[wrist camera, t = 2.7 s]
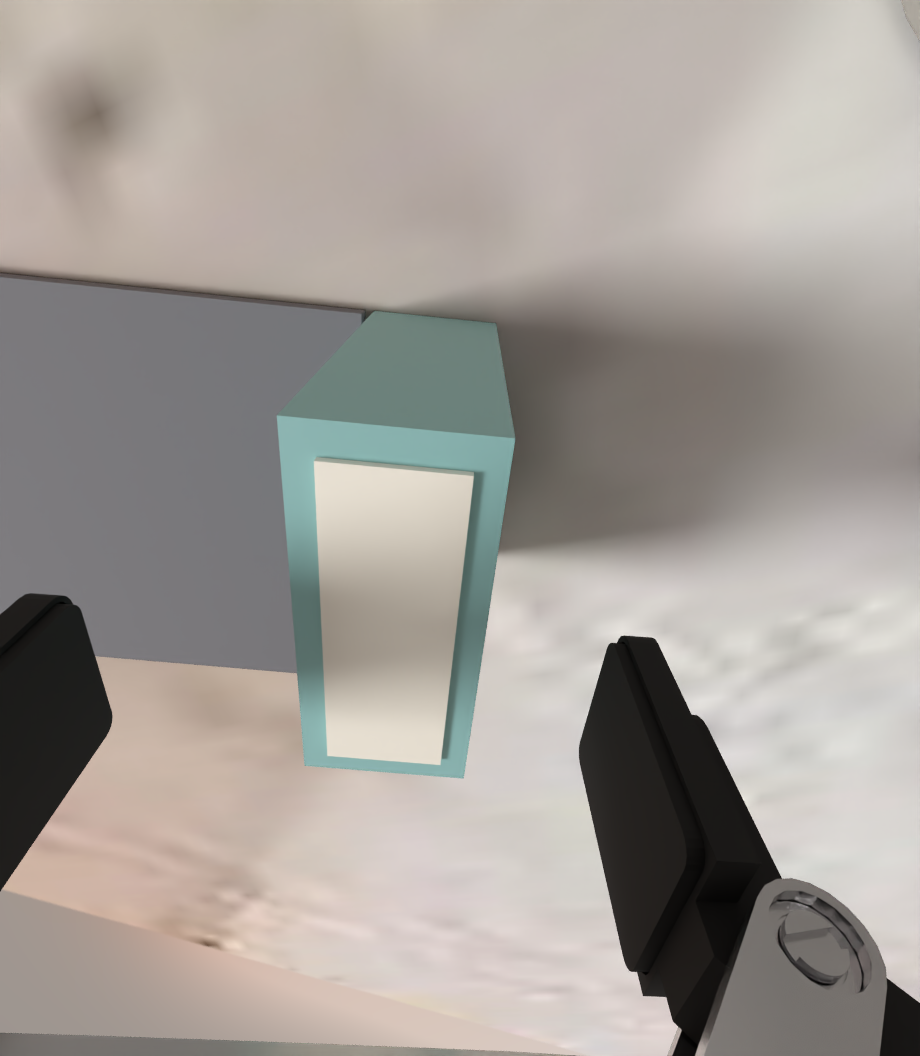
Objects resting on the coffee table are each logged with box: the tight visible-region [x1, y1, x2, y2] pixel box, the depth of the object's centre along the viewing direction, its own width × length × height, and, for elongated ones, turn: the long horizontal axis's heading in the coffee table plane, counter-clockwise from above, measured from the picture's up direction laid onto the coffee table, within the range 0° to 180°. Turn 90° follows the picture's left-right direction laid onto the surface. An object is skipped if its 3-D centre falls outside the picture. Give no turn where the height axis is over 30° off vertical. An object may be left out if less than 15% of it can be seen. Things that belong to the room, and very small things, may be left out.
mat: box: [0, 273, 365, 673], centre depth 19 cm, size 14×18×1 cm
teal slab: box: [277, 311, 515, 778], centre depth 14 cm, size 8×4×9 cm, turn 175°
